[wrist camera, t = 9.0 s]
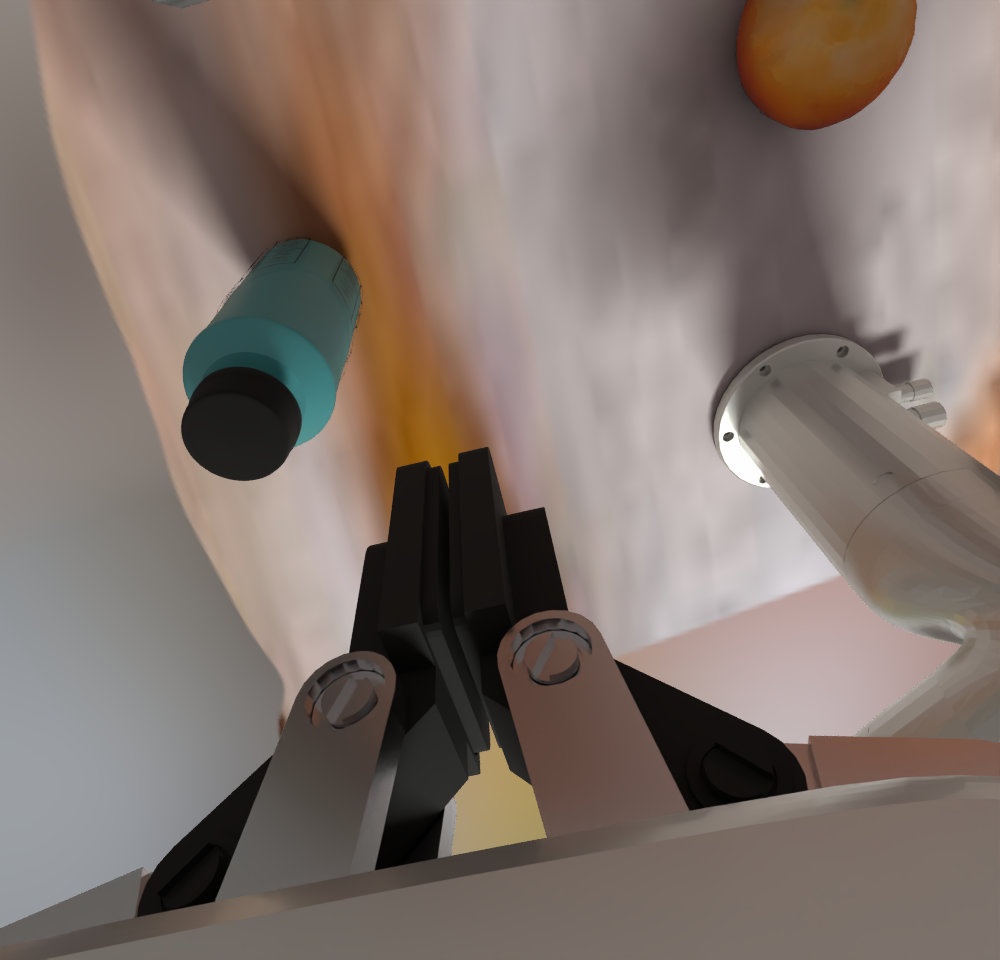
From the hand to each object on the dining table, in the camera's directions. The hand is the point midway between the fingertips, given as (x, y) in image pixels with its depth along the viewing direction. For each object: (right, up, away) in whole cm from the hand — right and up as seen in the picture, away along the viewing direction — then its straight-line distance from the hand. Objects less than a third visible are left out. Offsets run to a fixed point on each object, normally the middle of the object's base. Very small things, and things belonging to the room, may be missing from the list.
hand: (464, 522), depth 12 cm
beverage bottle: (-11, +13, +28) cm, 33 cm away
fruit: (+17, +25, +23) cm, 38 cm away
